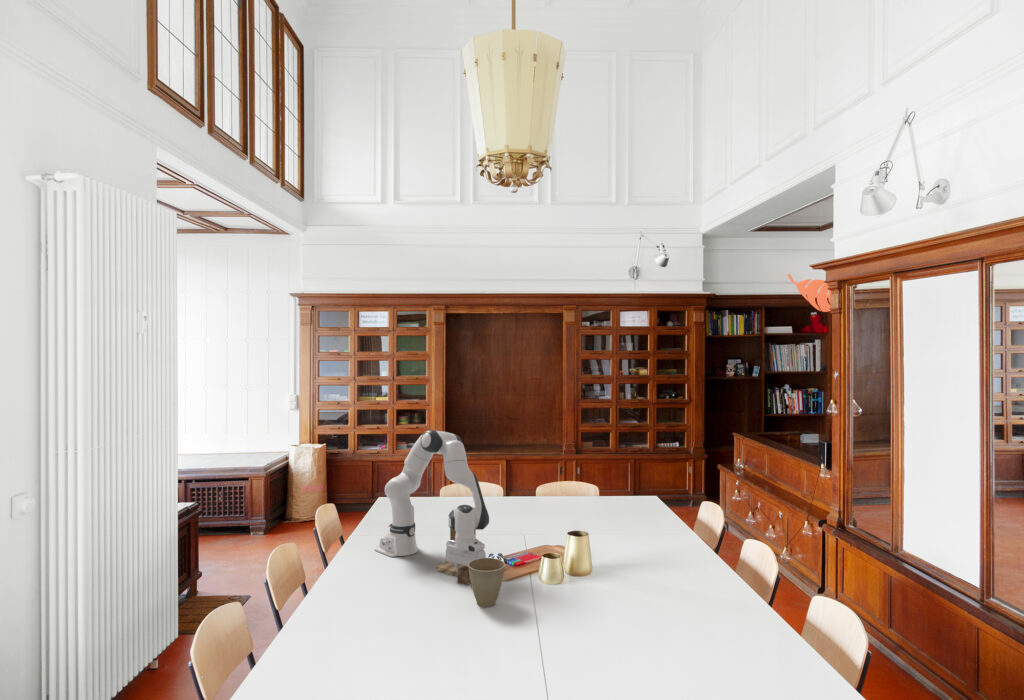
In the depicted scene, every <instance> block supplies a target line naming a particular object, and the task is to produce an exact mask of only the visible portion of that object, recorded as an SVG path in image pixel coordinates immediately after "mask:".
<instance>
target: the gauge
mask: <svg viewBox="0 0 1024 700" xmlns="http://www.w3.org/2000/svg"><path fill="white" fill-rule="evenodd" d="M457 583H459V584H463V585H469V584H471V581H470V576H469V568H468V566H462V567H460V568H458V576H457Z"/></svg>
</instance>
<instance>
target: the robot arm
mask: <svg viewBox="0 0 1024 700" xmlns="http://www.w3.org/2000/svg"><path fill="white" fill-rule="evenodd" d="M435 454H437V455H442V456H443V470H444V473H445V477H446V478H447V479H448V480H449V481H450V482H452V483H454V484H457V485H460V486H464V487H466V488H467V489H469V490H470V492H471V496H472V499H473V503H474V507H473V506H471V505H470V504H469V505H468V504H461V505H459V506H457V507H456V508H455V509H452V510H451V511H450V512H449V514H448V528H451V529H452V530H454V531H456V535H455V541H452V540H450V539H449V540H447V541H446V544H445V545H446V548H445V554H444V555H445V556H444V557H445V560H446V561H445V562H447V561H449V562H453V563H454V565H455V567H456V569H457V573H458V568H460V566H459V564H461V565H465V566H468V564H469V562H471V561H472V560H475V559H479V558H487V556H486V555H487V554H486V551H485V550H484V549H485V548H486V544H485V543H483V542H482V541H480V540H479V539H477V538H475V533H474V529H476V531H477V530H479V531H480V530H481V531H482V530H484V529H486V528H487V527H488V525H489V523H490V515H489V511H488V509H487V507H486V503H485V501H484V497H483V494H482V490H481V486H480V484H479V480H478V478H477V475H476V474H475V473H474V472H472V470H471V469H470V467H469V465H468V459H467V458H468V457H467V452H466V449H465V445H464V443H463V442H462V438H461V437H460V436H459V435H457V434H455V433H451V432H448V431H445V430H444V431H442V430H433V429H431V430H426V431H425V432H423V433H422V434H421V435H420V436H419V438H417V440H416V441H415V443H414V444H413V445H412V447H411V449H410V451H409V453H408V454H407V456H406V458H404V462H403V463H404V466H403V468H402V471H401V472H400V473H399V474H398V475H397V476H394V477H393V478H391V479H390V480H389V481H388V482H386V484H385V486H384V494H385V496H386V497H387V498H388V499H389V503H390V506H391V520H392V521H391V523H390V524H389V525H387V526H388V528H389V530H388V531H386V533H385V534H384V535H382V536H381V537H380V539H379V544H378V545H377V546H375V548H374V551H376V552H378V553H380V554H382V555H384V556H387V557H389V558H393V557H404V556H405V557H407V556H410V555H411V556H412V555H414V554H416V553H417V552H418V550H419V549H418V545H417V537H416V522H415V506H414V505H413V504H412V500H411V495H412V494H413V493H415V492H416V491H417V490H418V489H419V488H420V486H421V484H422V477H423V475H424V472H425V471H426V468H427V467H428V465H429V463H430V462H431V460H432V458H433V456H434V455H435ZM469 576H470V575H469Z"/></svg>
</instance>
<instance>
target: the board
mask: <svg viewBox="0 0 1024 700" xmlns="http://www.w3.org/2000/svg"><path fill="white" fill-rule="evenodd" d="M459 566H460V567H462V566H465V565H461V564H459ZM436 572H439V573H444V574H448V575H450V576H455V577H458V573H457V569H456V567H455V565H454V563H453V562H449V561H444V562H443V563H441V564H438V565H437V566H436Z"/></svg>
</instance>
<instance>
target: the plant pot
mask: <svg viewBox="0 0 1024 700" xmlns="http://www.w3.org/2000/svg"><path fill="white" fill-rule="evenodd" d="M468 568H469V575H470V581H471V583H470V584H471V588H472V593H473V595H474V598H475V602H476V604H477V605H478V606H479V607H483V608H489V607H490V608H491V607H494V606H495V605H496V604H497V601H498V599H499V594H500V591H501V588H502V584H503V580H504V574H505V569H506V563H505V562H504V561H503V560H501V559H499V558H494V557H486V558H479V559H475V560H472V561H471V562H469V564H468Z"/></svg>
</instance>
